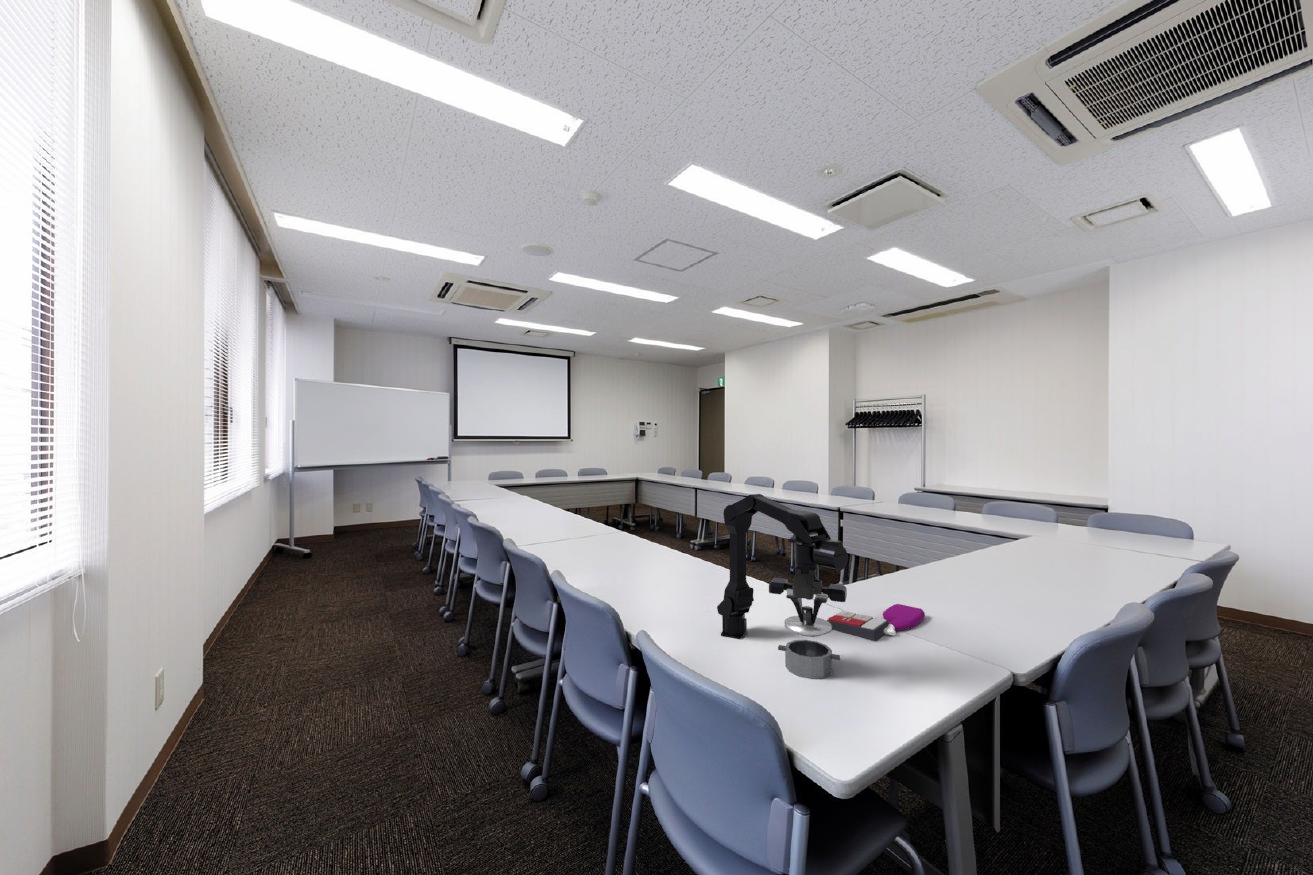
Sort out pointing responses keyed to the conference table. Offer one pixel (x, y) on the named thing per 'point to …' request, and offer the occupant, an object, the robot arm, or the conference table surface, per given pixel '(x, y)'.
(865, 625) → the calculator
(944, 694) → the conference table surface
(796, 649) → the pot
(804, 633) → the lid
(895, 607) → the purple squeeze pouch
